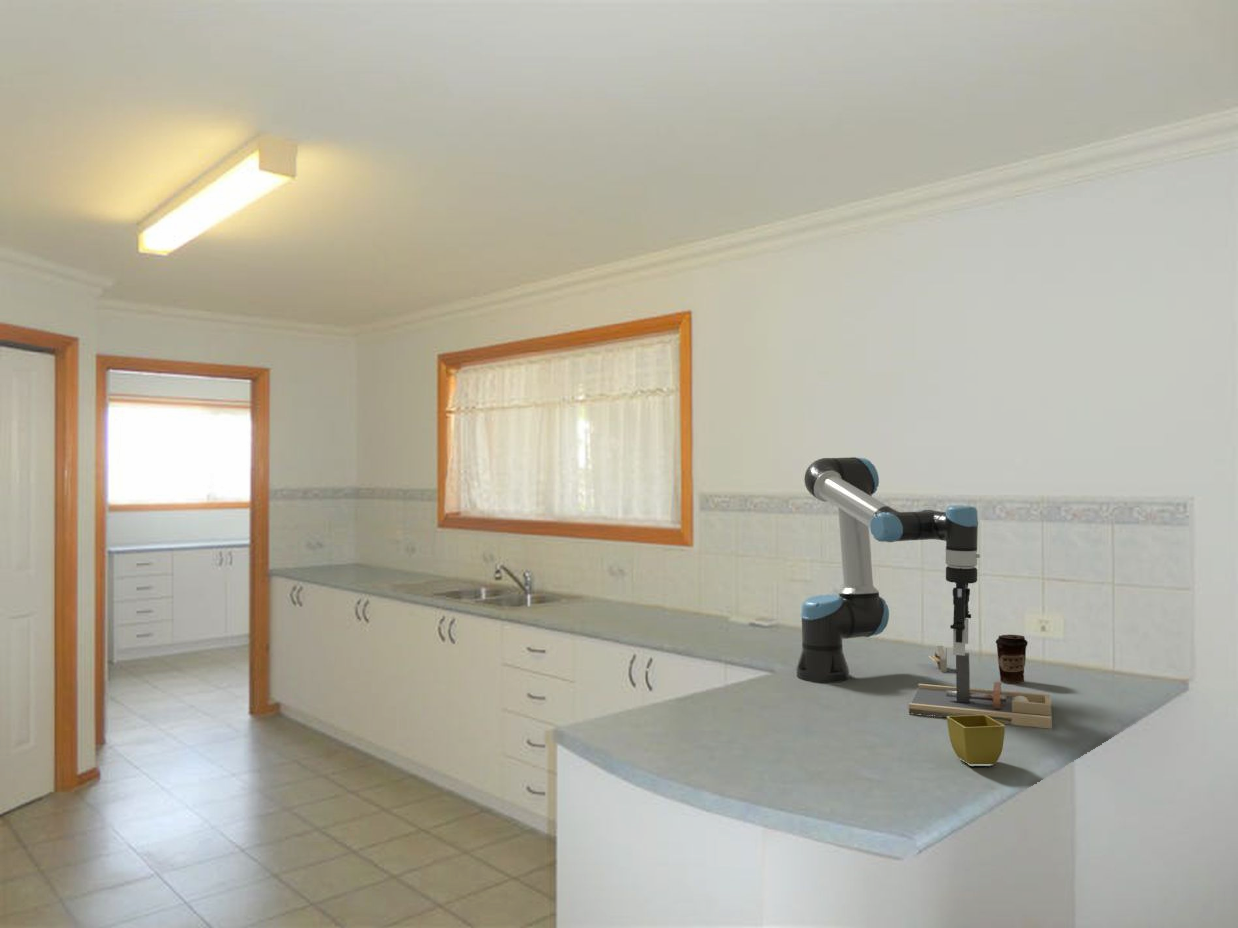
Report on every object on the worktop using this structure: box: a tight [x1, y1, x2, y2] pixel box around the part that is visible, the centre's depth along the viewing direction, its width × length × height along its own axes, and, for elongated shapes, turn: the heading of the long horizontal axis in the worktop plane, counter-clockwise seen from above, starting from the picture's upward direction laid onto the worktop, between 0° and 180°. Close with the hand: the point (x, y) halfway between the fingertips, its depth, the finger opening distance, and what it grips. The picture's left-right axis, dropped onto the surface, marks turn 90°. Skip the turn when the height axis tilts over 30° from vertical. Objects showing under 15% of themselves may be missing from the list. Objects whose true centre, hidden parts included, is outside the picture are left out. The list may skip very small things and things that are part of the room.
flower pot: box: [946, 715, 1006, 765], centre depth 183 cm, size 9×9×9 cm
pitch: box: [908, 683, 1053, 730], centre depth 223 cm, size 32×22×4 cm
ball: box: [1013, 696, 1029, 702], centre depth 219 cm, size 4×4×4 cm
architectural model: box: [928, 644, 948, 673], centre depth 267 cm, size 3×7×8 cm, turn 176°
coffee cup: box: [995, 634, 1029, 684], centre depth 250 cm, size 9×8×13 cm
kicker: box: [946, 652, 1006, 709], centre depth 223 cm, size 14×9×12 cm, turn 65°
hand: (960, 648), depth 225 cm, fingers open, 13 cm apart
